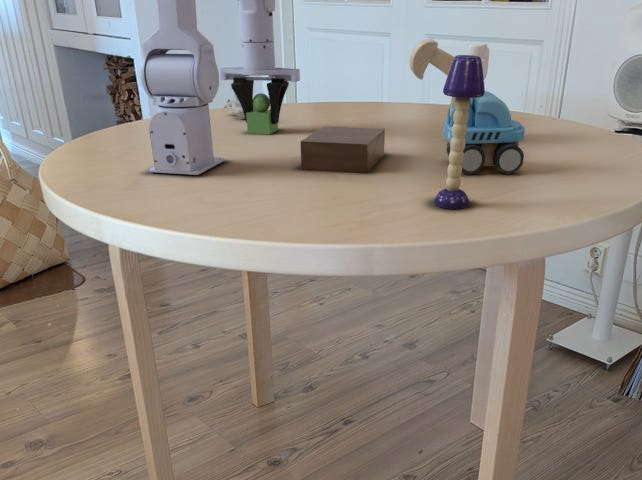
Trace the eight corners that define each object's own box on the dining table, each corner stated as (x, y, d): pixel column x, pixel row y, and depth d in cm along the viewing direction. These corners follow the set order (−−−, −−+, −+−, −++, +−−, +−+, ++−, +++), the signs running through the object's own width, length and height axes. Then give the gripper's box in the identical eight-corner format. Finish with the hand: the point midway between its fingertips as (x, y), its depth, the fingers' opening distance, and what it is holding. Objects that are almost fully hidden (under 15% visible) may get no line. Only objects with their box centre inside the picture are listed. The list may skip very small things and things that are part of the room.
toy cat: (250, 118, 142) (278, 105, 132) (239, 136, 141) (267, 125, 131) (221, 93, 137) (248, 78, 128) (210, 111, 136) (237, 98, 127)
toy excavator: (402, 162, 101) (407, 37, 92) (511, 160, 101) (526, 35, 93) (409, 176, 93) (415, 41, 85) (526, 174, 94) (544, 40, 85)
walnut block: (367, 172, 95) (367, 144, 93) (301, 169, 98) (300, 141, 96) (384, 154, 105) (384, 128, 103) (324, 151, 108) (323, 126, 106)
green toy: (270, 134, 121) (267, 95, 118) (247, 133, 122) (244, 94, 119) (278, 130, 125) (276, 92, 121) (256, 129, 126) (253, 91, 122)
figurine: (443, 142, 113) (449, 45, 106) (456, 132, 121) (463, 41, 113) (485, 145, 111) (494, 46, 103) (496, 134, 118) (505, 42, 111)
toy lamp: (469, 199, 83) (482, 53, 75) (477, 209, 79) (492, 57, 71) (431, 199, 83) (440, 54, 75) (437, 210, 79) (448, 58, 71)
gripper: (304, 40, 117) (306, 120, 124) (228, 39, 121) (235, 117, 127) (291, 43, 111) (294, 127, 118) (212, 42, 115) (219, 124, 122)
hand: (262, 122), depth 122 cm, fingers closed on green toy, 4 cm apart
